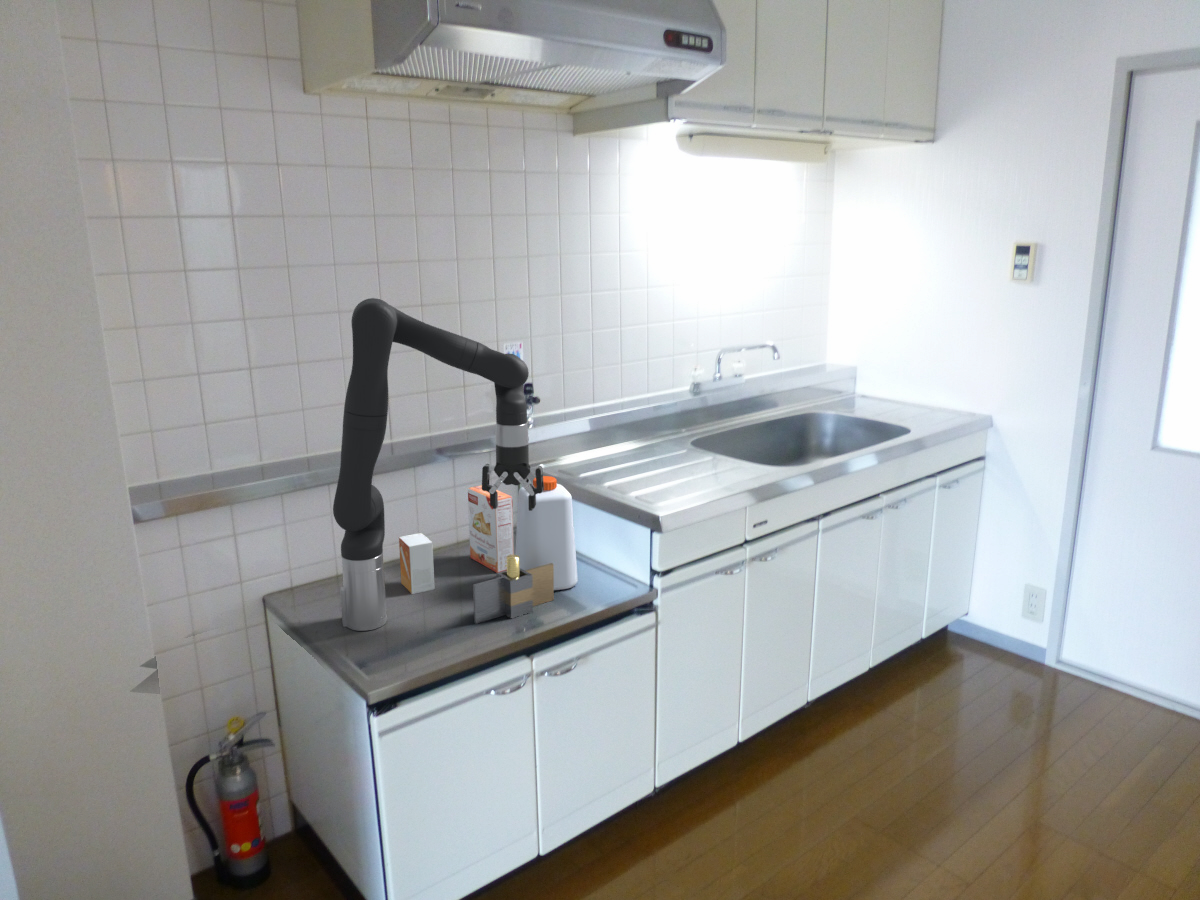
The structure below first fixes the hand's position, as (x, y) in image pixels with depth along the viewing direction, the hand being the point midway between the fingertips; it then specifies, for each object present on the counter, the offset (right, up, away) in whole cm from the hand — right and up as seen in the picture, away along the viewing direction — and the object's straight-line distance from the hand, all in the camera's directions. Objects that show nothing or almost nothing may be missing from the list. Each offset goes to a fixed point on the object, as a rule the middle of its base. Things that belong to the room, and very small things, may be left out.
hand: (513, 508), depth 204 cm
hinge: (0, -25, +6) cm, 26 cm away
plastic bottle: (+6, -21, +24) cm, 33 cm away
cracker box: (-10, -18, +36) cm, 41 cm away
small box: (-27, -22, +20) cm, 40 cm away
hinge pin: (0, -25, +6) cm, 26 cm away
